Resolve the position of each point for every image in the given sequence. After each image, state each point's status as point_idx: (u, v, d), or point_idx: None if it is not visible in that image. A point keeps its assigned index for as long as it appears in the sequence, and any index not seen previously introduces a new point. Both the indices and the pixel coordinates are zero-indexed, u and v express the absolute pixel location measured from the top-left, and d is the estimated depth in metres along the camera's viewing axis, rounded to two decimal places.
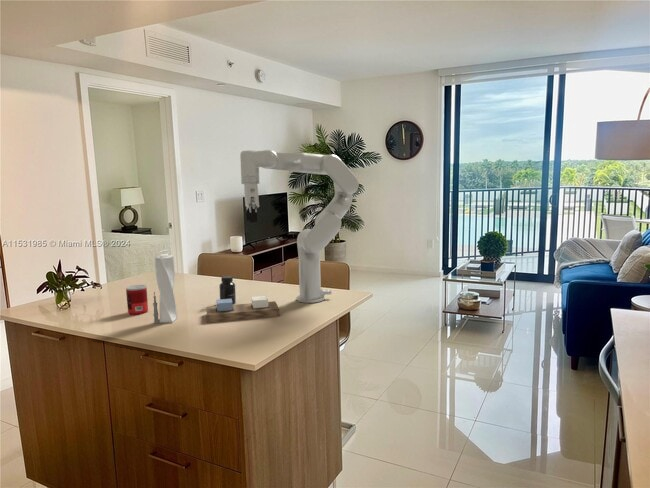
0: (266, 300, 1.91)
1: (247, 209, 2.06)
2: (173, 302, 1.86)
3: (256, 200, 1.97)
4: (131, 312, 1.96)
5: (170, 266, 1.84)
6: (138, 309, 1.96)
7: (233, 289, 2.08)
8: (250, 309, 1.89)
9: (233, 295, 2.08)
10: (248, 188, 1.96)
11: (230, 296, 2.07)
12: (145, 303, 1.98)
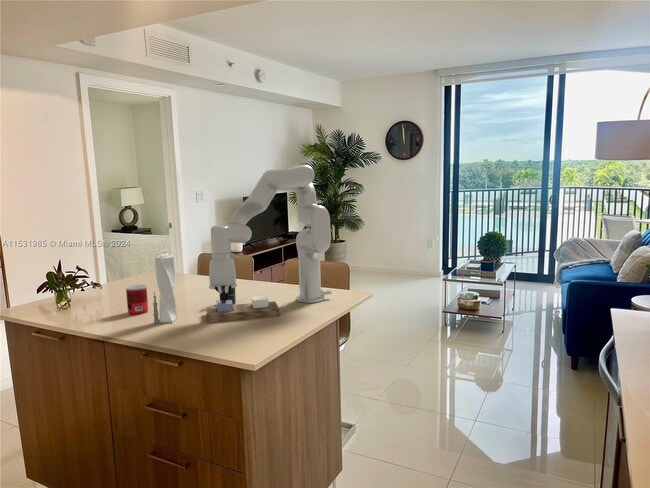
0: (266, 300, 1.91)
1: (221, 289, 1.88)
2: (173, 302, 1.86)
3: None
4: (131, 312, 1.96)
5: (170, 266, 1.84)
6: (138, 309, 1.96)
7: (233, 289, 2.08)
8: (250, 309, 1.89)
9: (233, 295, 2.08)
10: (233, 264, 1.87)
11: (230, 296, 2.07)
12: (145, 303, 1.98)
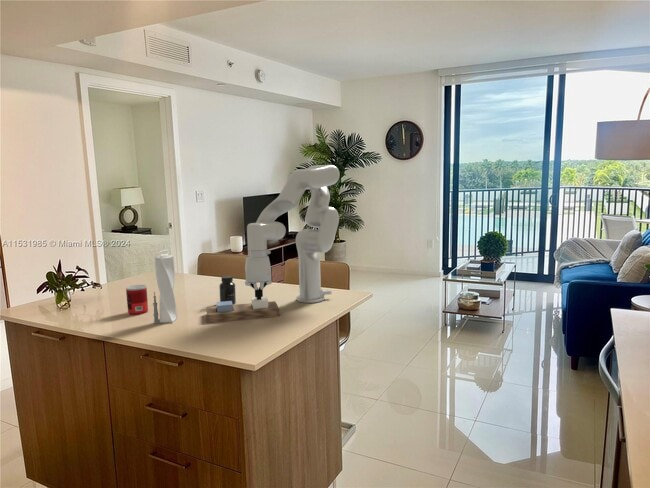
0: (266, 301, 1.91)
1: None
2: (173, 302, 1.86)
3: None
4: (131, 312, 1.96)
5: (170, 266, 1.84)
6: (138, 309, 1.96)
7: (233, 289, 2.08)
8: (250, 309, 1.89)
9: (233, 295, 2.08)
10: (269, 261, 1.90)
11: (230, 296, 2.07)
12: (145, 303, 1.98)
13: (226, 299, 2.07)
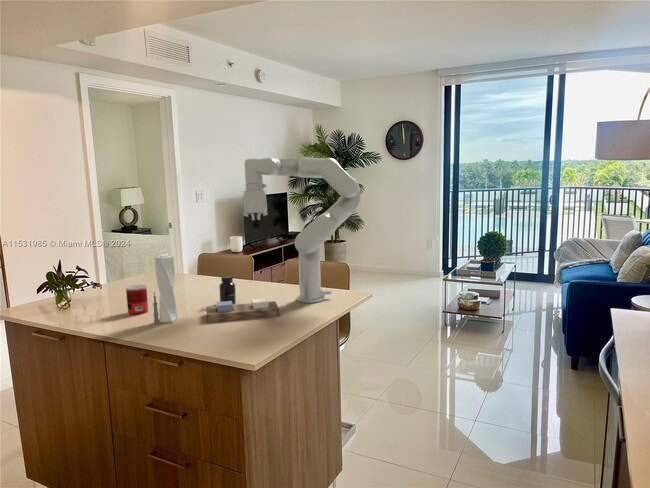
0: (266, 302, 1.91)
1: None
2: (173, 302, 1.86)
3: None
4: (131, 312, 1.96)
5: (170, 266, 1.84)
6: (138, 309, 1.96)
7: (233, 289, 2.08)
8: (250, 309, 1.89)
9: (233, 295, 2.08)
10: None
11: (230, 296, 2.07)
12: (145, 303, 1.98)
13: (226, 299, 2.07)
